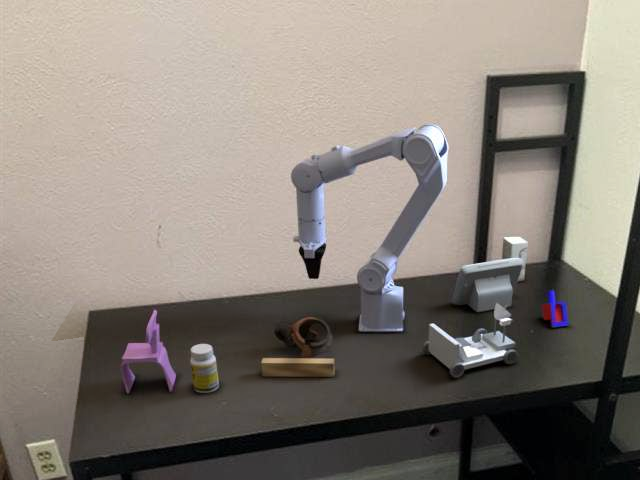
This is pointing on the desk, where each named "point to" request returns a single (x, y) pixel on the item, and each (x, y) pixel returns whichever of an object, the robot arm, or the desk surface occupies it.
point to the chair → (147, 355)
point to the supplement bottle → (204, 368)
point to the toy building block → (555, 311)
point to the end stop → (298, 367)
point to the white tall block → (515, 251)
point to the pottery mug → (304, 336)
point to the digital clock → (487, 284)
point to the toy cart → (472, 346)
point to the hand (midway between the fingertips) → (313, 277)
